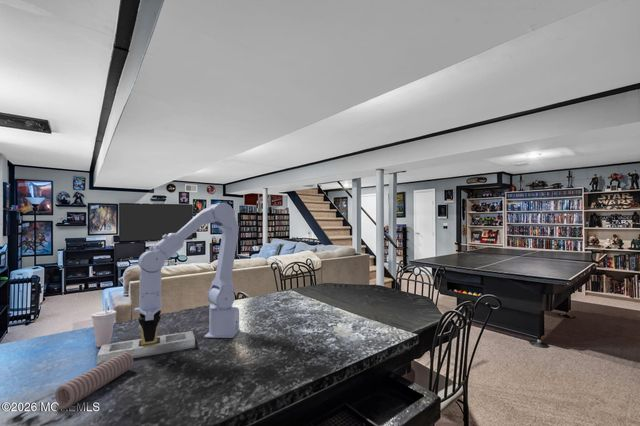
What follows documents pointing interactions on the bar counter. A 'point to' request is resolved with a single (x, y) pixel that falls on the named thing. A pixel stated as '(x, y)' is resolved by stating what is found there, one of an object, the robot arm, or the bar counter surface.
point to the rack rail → (147, 346)
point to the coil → (92, 380)
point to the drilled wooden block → (144, 339)
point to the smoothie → (103, 325)
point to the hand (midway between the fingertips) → (149, 338)
